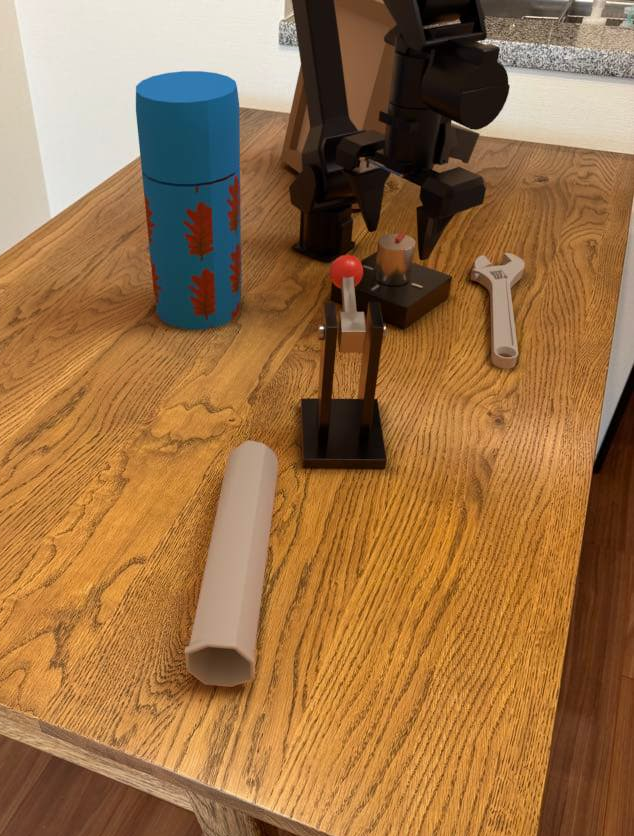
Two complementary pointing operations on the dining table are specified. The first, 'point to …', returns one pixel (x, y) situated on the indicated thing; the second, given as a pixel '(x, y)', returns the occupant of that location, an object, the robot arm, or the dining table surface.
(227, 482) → the tube
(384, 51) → the photo frame
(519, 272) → the adjustable wrench
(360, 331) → the lever
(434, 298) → the dial base
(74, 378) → the dining table surface
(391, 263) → the dial knob
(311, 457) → the lever stand
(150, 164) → the thermos
